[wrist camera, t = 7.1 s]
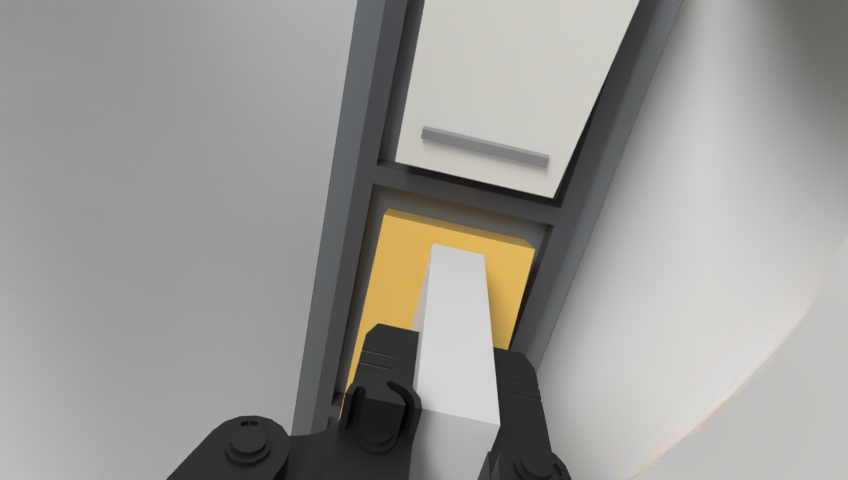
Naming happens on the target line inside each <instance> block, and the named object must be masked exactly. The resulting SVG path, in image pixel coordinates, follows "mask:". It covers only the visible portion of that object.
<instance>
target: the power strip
mask: <svg viewBox="0 0 848 480" xmlns="http://www.w3.org/2000/svg"><path fill="white" fill-rule="evenodd" d="M424 3H425V0H357V7H356V14H355V20H354V27H353V33H352V40H351V46H350V53H349V59H348V66H347V73H346V79H345V86H344V92H343V99H342V105H341V112H340V118H339V125H338V132H337V138H336V145H335V151H334V158H333V164H332V171H331V177H330V184H329V191H328V197H327V204H326V210H325V217H324V223H323V230H322V236H321V243H320V250H319V256H318V263H317V269H316V276H315V282H314V289H313V295H312V302H311V309H310V315H309V322H308V328H307V335H306V341H305V348H304V354H303V361H302V368H301V374H300V381H299V387H298V394H297V400H296V407H295V413H294V420H293V427H292V433H291V436H297V435H308V434H315V433H318V432H321V431H324V430H327V429H328V428H330V427H331V426H333V425H334V424H336V423H337V422H338V421H339V418H340V413H341V409H342V404H343V400H344V395H345V390H346V386H347V381H348V377H349V372H350V368H351V363H352V358H353V354H354V349H355V345H356V340H357V336H358V331H359V327H360V322H361V317H362V313H363V308H364V304H365V299H366V295H367V290H368V286H369V281H370V276H371V272H372V267H373V263H374V258H375V254H376V249H377V244H378V240H379V235H380V231H381V226H382V222H383V217H384V214H385V212H386V211H387V209H388V208H390V209H395V210H399V211H403V212H408V213H412V214H416V215H421V216H425V217H430V218H434V219H438V220H443V221H447V222H451V223H456V224H460V225H464V226H469V227H473V228H477V229H482V230H486V231H490V232H495V233H499V234H503V235H508V236H512V237H516V238H521V239H525V240H526V241H527V242H528V243H529V244H530V245H531V246H532V247H533V248H534V249H535V252H534V256H533V259H532V263H531V267H530V270H529V274H528V278H527V281H526V285H525V289H524V292H523V296H522V300H521V303H520V307H519V311H518V314H517V318H516V322H515V325H514V329H513V333H512V336H511V340H510V344H509V347H508V350H510V351H515V352H519V353H524V355H525V356H526V357H527V359H528V360H529V362H530V363H531V364H532V366H533V367H534V369H535V372H537V370H538V367H539V365H540V362H541V360H542V357H543V355H544V352H545V349H546V347H547V344H548V342H549V339H550V337H551V334H552V332H553V329H554V326H555V324H556V321H557V319H558V316H559V314H560V311H561V309H562V306H563V304H564V301H565V298H566V296H567V293H568V291H569V288H570V286H571V283H572V281H573V278H574V275H575V273H576V270H577V268H578V265H579V263H580V260H581V258H582V255H583V253H584V250H585V247H586V245H587V242H588V240H589V237H590V235H591V232H592V230H593V227H594V224H595V222H596V219H597V217H598V214H599V212H600V209H601V207H602V204H603V201H604V199H605V196H606V194H607V191H608V189H609V186H610V184H611V181H612V179H613V176H614V173H615V171H616V168H617V166H618V163H619V161H620V158H621V156H622V153H623V150H624V148H625V145H626V143H627V140H628V138H629V135H630V133H631V130H632V128H633V125H634V122H635V120H636V117H637V115H638V112H639V110H640V107H641V105H642V102H643V99H644V97H645V94H646V92H647V89H648V87H649V84H650V82H651V79H652V77H653V74H654V71H655V69H656V66H657V64H658V61H659V59H660V56H661V54H662V51H663V48H664V46H665V43H666V41H667V38H668V36H669V33H670V31H671V28H672V26H673V23H674V20H675V18H676V15H677V13H678V10H679V8H680V5H681V3H682V0H639V3H638V5H637V7H636V10H635V12H634V14H633V16H632V19H631V21H630V23H629V26H628V28H627V30H626V32H625V35H624V37H623V39H622V42H621V44H620V46H619V48H618V51H617V53H616V55H615V58H614V60H613V62H612V64H611V67H610V69H609V71H608V74H607V76H606V78H605V80H604V83H603V85H602V87H601V90H600V92H599V94H598V96H597V99H596V101H595V103H594V106H593V108H592V110H591V112H590V115H589V117H588V119H587V122H586V124H585V126H584V128H583V131H582V133H581V135H580V138H579V140H578V142H577V144H576V147H575V149H574V151H573V154H572V156H571V158H570V160H569V163H568V165H567V167H566V170H565V172H564V174H563V176H562V179H561V181H560V183H559V186H558V188H557V190H556V192H555V195H554V197H553V198H550V197H545V196H541V195H537V194H532V193H528V192H524V191H520V190H515V189H511V188H507V187H502V186H498V185H494V184H490V183H485V182H481V181H477V180H472V179H468V178H464V177H460V176H455V175H451V174H447V173H442V172H438V171H434V170H430V169H425V168H421V167H417V166H412V165H408V164H404V163H400V162H395V158H396V153H397V148H398V142H399V137H400V132H401V126H402V121H403V116H404V110H405V105H406V100H407V94H408V89H409V84H410V78H411V73H412V68H413V62H414V57H415V52H416V46H417V41H418V35H419V30H420V25H421V19H422V14H423V9H424Z"/></svg>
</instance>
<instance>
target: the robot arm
mask: <svg viewBox="0 0 848 480" xmlns="http://www.w3.org/2000/svg"><path fill="white" fill-rule="evenodd" d="M166 480H571V477H570V475H569V472H568V470H567V468H566V466H565V465H564V463H563V462H562V461H561V460H560V459H559V458H558V457H557V455H555V454H554V453H553V452H552V451H551V446H550V441H549V436H548V431H547V426H546V421H545V416H544V411H543V406H542V402H541V396H540V391H539V389H538V382H537V377H536V372H535V369H534V367H533V366H532V364H531V363H530V362H529V360H528V359H527V357H526V356H525V355H524V353H519V352H515V351H510V350H506V349H501V348H496V347H493V343H492V332H491V322H490V311H489V301H488V290H487V280H486V269H485V259H484V255H482V254H478V253H474V252H469V251H465V250H460V249H456V248H452V247H447V246H443V245H438V244H434V243H433V244H432V248H431V252H430V256H429V260H428V264H427V268H426V272H425V276H424V280H423V284H422V288H421V292H420V296H419V299H418V303H417V307H416V311H415V315H414V319H413V324H412V330H408V329H403V328H399V327H394V326H390V325H385V324H380V323H378V324H377V325H375V326H374V327H373V328H372V329H371V330H370V331H369V332H368V333H367V334H366V336H365V340H364V343H363V347H362V351H361V354H360V358H359V361H358V365H357V369H356V372H355V376H354V379H353V383H351V384H350V386H349V388H348V389H347V391H346V393H345V397H344V402H343V407H342V412H341V417H340V419H339V421H338V422H337V423H336V424H334V425H333V426H331V427H330V428H328V429H327V430H324V431H321V432H318V433H315V434H308V435H297V436H288V435H287V433H286V432H285V430H284V428H283V427H282V426H281V425H279V424H278V423H276V422H274V421H273V420H271V419H268V418H264V417H260V416H240V417H237V418H234V419H231V420H228V421H225V422H224V423H222V424H221V425H220V426H218V427H217V428H216V429H214V430H213V431H212V432H211V433H210V434H209V435H208V436H207V437H206V438H205V439H204V440H203V441H202V442H201V443H200V445H199V446H198V447H197V448H196V449H195V450H194V451H193V452H192V453H191V454H190V455H189V456H188V457H187V458H186V459H185V460H184V461H183V462H182V463H181V464H180V466H179V467H178V468H177V469H176V470H175V471H174V472H173V473H172V474H171V475H170V476H169V477H168V478H167V479H166Z"/></svg>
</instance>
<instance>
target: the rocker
mask: <svg viewBox="0 0 848 480" xmlns="http://www.w3.org/2000/svg"><path fill="white" fill-rule="evenodd" d="M638 3H639V0H425V3H424V9H423V14H422V19H421V25H420V30H419V35H418V41H417V46H416V52H415V57H414V62H413V68H412V73H411V78H410V84H409V89H408V94H407V100H406V105H405V110H404V116H403V121H402V126H401V132H400V137H399V142H398V148H397V153H396V158H395V162H400V163H404V164H408V165H412V166H417V167H421V168H425V169H430V170H434V171H438V172H442V173H447V174H451V175H455V176H460V177H464V178H468V179H472V180H477V181H481V182H485V183H490V184H494V185H498V186H502V187H507V188H511V189H515V190H520V191H524V192H528V193H532V194H537V195H541V196H545V197H550V198H553V197H554V195H555V192H556V190H557V188H558V186H559V183H560V181H561V179H562V176H563V174H564V172H565V170H566V167H567V165H568V163H569V160H570V158H571V156H572V154H573V151H574V149H575V147H576V144H577V142H578V140H579V138H580V135H581V133H582V131H583V128H584V126H585V124H586V122H587V119H588V117H589V115H590V112H591V110H592V108H593V106H594V103H595V101H596V99H597V96H598V94H599V92H600V90H601V87H602V85H603V83H604V80H605V78H606V76H607V74H608V71H609V69H610V67H611V64H612V62H613V60H614V58H615V55H616V53H617V51H618V48H619V46H620V44H621V42H622V39H623V37H624V35H625V32H626V30H627V28H628V26H629V23H630V21H631V19H632V16H633V14H634V12H635V10H636V7H637V5H638Z"/></svg>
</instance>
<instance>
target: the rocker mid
mask: <svg viewBox="0 0 848 480" xmlns="http://www.w3.org/2000/svg"><path fill="white" fill-rule="evenodd" d="M433 243H434V244H438V245H443V246H447V247H452V248H456V249H460V250H465V251H469V252H474V253H478V254H482V255H484V259H485V269H486V280H487V290H488V301H489V311H490V322H491V332H492V343H493V347H496V348H501V349H506V350H508V347H509V344H510V340H511V336H512V333H513V329H514V325H515V322H516V318H517V314H518V311H519V307H520V303H521V300H522V296H523V292H524V289H525V285H526V281H527V278H528V274H529V270H530V267H531V263H532V259H533V256H534V252H535V249H534V248H533V247H532V246H531V245H530V244H529V243H528V242H527V241H526V240H525V239H521V238H516V237H512V236H508V235H503V234H499V233H495V232H490V231H486V230H482V229H477V228H473V227H469V226H464V225H460V224H456V223H451V222H447V221H443V220H438V219H434V218H430V217H425V216H421V215H416V214H412V213H408V212H403V211H399V210H395V209H390V208H388V209H387V211H386V212H385V214H384V217H383V222H382V226H381V231H380V235H379V240H378V244H377V249H376V254H375V258H374V263H373V267H372V272H371V276H370V281H369V286H368V290H367V295H366V299H365V304H364V308H363V313H362V317H361V322H360V327H359V331H358V336H357V340H356V345H355V349H354V354H353V358H352V363H351V368H350V372H349V377H348V381H347V386H346V390H345V393H346V391H347V389H348V388H349V386H350V384H351V383H353V379H354V376H355V372H356V369H357V365H358V361H359V358H360V354H361V351H362V347H363V343H364V340H365V336H366V334H367V333H368V332H369V331H370V330H371V329H372V328H373V327H374V326H375V325H377V324H378V323H380V324H385V325H390V326H394V327H399V328H403V329H408V330H412V324H413V319H414V315H415V311H416V307H417V303H418V299H419V296H420V292H421V288H422V284H423V280H424V276H425V272H426V268H427V264H428V260H429V256H430V252H431V248H432V244H433ZM344 397H345V395H344ZM343 402H344V400H343ZM342 407H343V404H342ZM341 412H342V409H341ZM340 417H341V413H340ZM339 419H340V418H339Z"/></svg>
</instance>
